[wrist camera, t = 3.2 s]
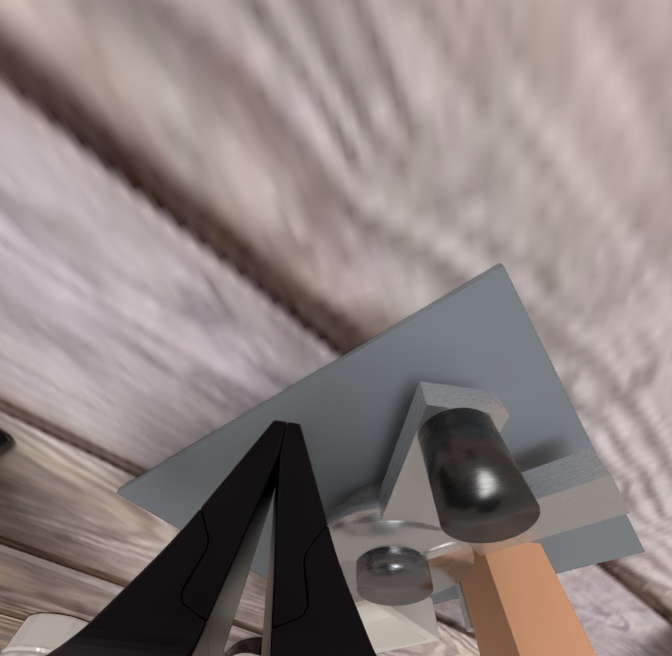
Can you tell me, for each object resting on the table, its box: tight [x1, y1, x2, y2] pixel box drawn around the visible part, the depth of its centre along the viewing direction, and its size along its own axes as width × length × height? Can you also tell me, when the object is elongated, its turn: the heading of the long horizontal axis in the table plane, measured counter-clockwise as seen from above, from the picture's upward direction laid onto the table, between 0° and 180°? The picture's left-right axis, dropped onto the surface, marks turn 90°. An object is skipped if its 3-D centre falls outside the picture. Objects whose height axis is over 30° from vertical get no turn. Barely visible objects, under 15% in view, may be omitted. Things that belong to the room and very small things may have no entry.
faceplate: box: [116, 263, 645, 632], centre depth 17 cm, size 23×23×3 cm
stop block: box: [461, 542, 596, 656], centre depth 17 cm, size 4×4×6 cm
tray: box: [351, 594, 440, 653], centre depth 22 cm, size 8×8×2 cm
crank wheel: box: [325, 381, 630, 606], centre depth 13 cm, size 14×13×4 cm
